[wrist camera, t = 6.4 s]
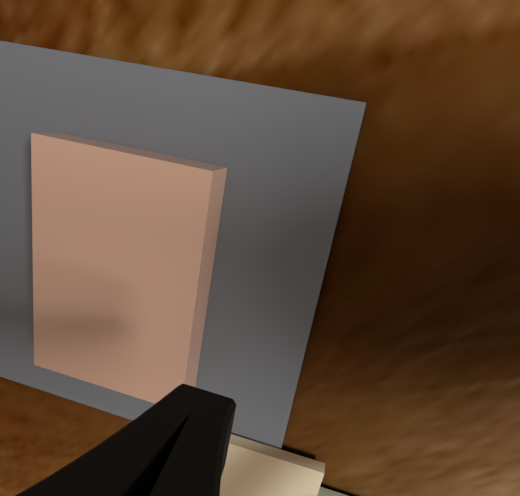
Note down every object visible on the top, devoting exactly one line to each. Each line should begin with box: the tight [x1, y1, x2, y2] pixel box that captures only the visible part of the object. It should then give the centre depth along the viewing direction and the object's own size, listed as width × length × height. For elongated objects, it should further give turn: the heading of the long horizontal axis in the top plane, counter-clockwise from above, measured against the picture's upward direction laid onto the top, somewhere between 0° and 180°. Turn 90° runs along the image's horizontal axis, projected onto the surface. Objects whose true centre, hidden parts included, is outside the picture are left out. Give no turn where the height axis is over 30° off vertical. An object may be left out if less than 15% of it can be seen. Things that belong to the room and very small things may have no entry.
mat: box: [0, 41, 366, 449], centre depth 17 cm, size 15×16×1 cm
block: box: [31, 133, 227, 404], centre depth 16 cm, size 2×10×7 cm
